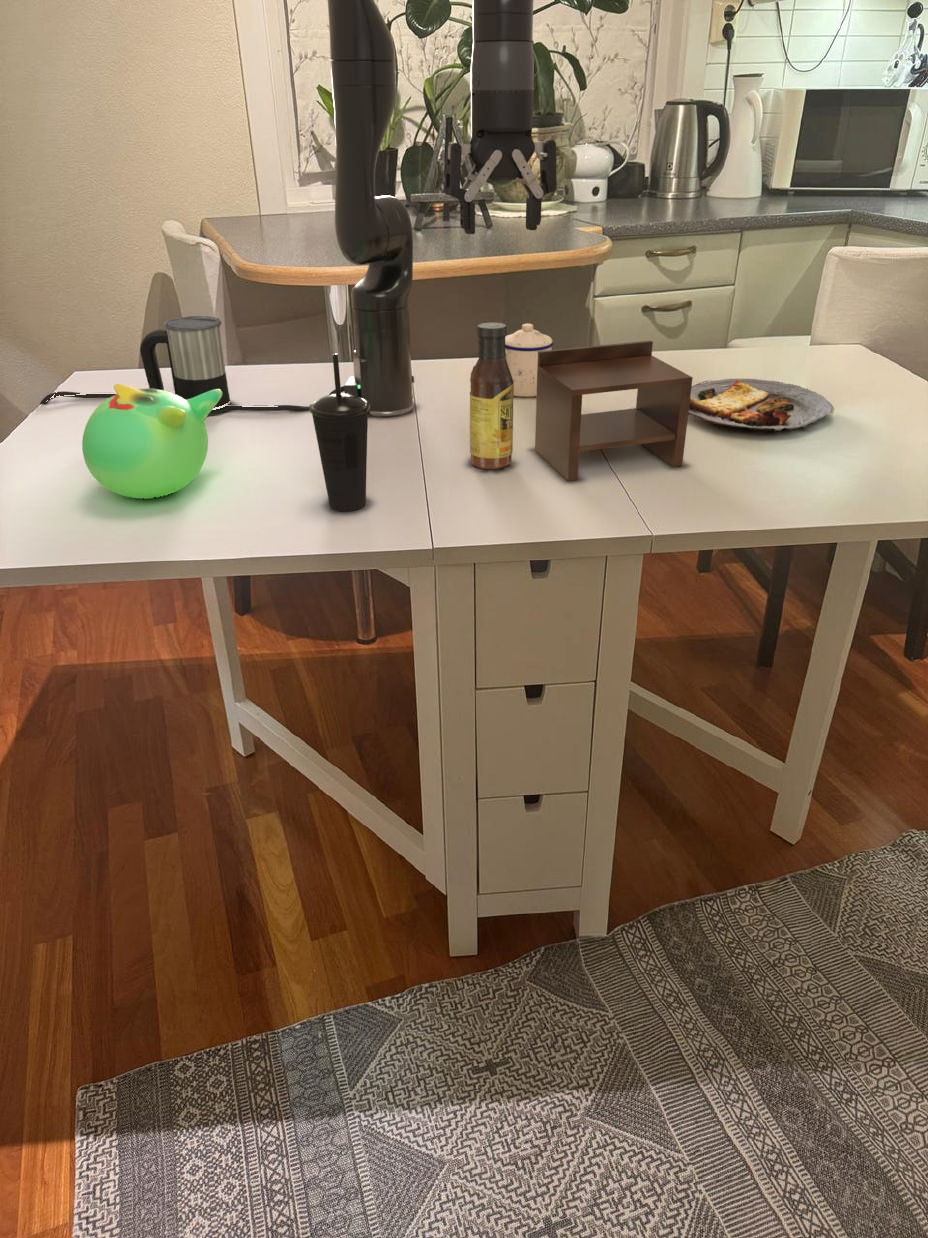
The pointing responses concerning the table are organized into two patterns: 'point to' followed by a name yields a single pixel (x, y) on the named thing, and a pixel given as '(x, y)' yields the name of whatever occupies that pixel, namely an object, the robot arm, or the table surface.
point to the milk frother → (189, 358)
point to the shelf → (606, 371)
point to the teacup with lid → (525, 358)
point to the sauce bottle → (491, 401)
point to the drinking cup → (342, 445)
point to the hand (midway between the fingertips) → (500, 231)
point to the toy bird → (147, 440)
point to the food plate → (757, 404)
